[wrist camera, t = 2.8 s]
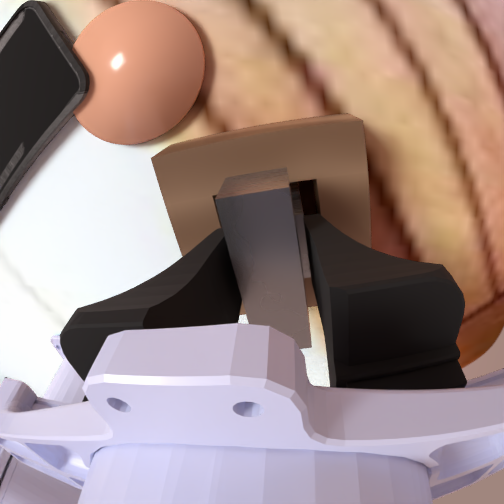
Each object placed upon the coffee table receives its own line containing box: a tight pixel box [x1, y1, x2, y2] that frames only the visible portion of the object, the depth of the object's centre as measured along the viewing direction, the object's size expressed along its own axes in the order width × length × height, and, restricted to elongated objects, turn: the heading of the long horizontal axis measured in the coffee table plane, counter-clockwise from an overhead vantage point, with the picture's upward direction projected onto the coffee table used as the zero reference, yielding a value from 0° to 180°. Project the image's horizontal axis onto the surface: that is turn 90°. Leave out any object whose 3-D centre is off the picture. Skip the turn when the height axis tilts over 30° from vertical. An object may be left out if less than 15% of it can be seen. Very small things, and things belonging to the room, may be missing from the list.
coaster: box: [72, 0, 205, 145], centre depth 12 cm, size 7×7×1 cm
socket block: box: [151, 113, 371, 315], centre depth 14 cm, size 8×8×2 cm
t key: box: [215, 167, 312, 349], centre depth 12 cm, size 6×3×6 cm, turn 12°
